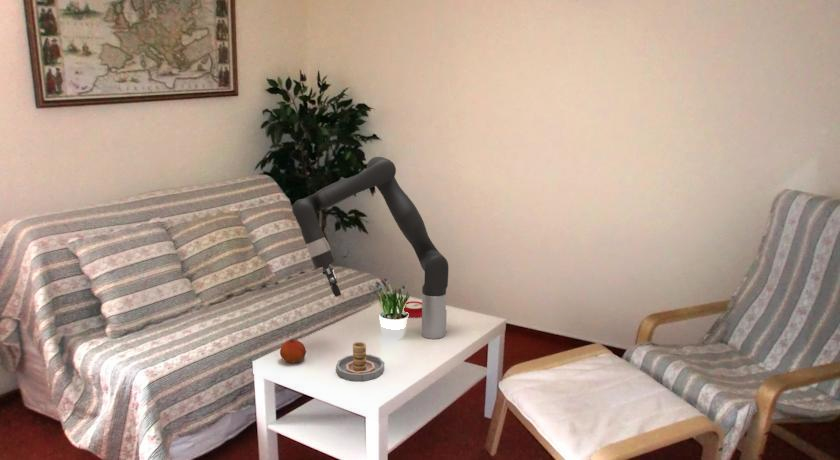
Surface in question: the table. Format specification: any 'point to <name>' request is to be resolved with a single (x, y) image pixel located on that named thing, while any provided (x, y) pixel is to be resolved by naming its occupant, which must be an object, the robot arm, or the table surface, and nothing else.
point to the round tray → (372, 371)
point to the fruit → (292, 351)
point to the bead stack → (359, 356)
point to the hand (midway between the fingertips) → (337, 295)
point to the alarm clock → (414, 309)
